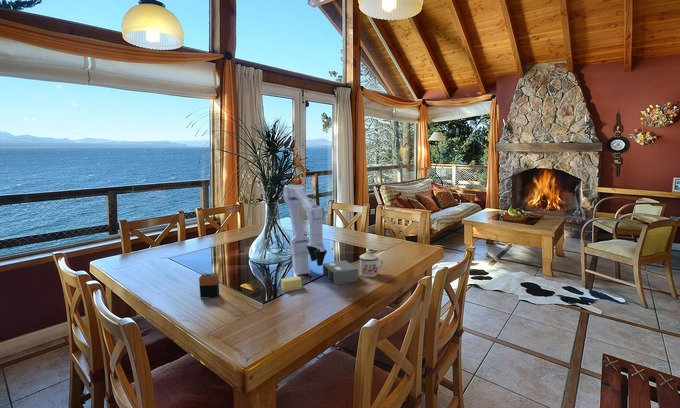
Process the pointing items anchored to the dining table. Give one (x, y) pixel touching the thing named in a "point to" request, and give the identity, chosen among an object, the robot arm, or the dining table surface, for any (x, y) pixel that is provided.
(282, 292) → the deck mat
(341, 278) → the socket box
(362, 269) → the teacup with lid
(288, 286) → the yellow block
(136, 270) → the dining table surface
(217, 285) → the battery
